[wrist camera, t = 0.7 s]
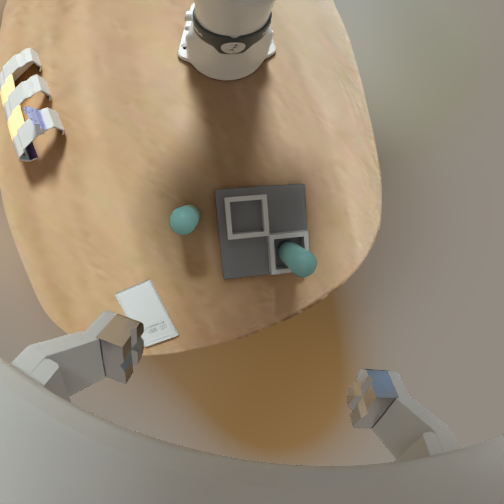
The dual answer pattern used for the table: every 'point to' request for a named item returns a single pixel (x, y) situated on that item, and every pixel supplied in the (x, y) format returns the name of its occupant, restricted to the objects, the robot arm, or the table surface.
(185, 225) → the jaw peg
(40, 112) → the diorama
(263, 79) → the table surface
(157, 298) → the external hard drive
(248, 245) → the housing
